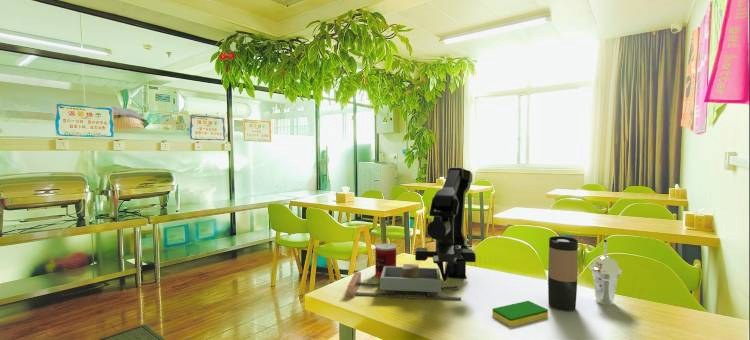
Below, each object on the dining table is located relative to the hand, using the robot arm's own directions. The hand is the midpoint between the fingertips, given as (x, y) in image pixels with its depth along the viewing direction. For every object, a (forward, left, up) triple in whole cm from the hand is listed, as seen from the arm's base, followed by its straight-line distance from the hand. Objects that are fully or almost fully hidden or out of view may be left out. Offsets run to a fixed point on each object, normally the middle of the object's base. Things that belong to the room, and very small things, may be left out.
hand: (444, 281), depth 116 cm
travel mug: (-34, +6, -4) cm, 34 cm away
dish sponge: (-20, +14, -5) cm, 25 cm away
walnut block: (+11, 0, -1) cm, 11 cm away
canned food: (+20, -15, -4) cm, 26 cm away
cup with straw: (-48, +1, -4) cm, 48 cm away
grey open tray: (+11, 0, -4) cm, 12 cm away
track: (+12, 0, -4) cm, 13 cm away
